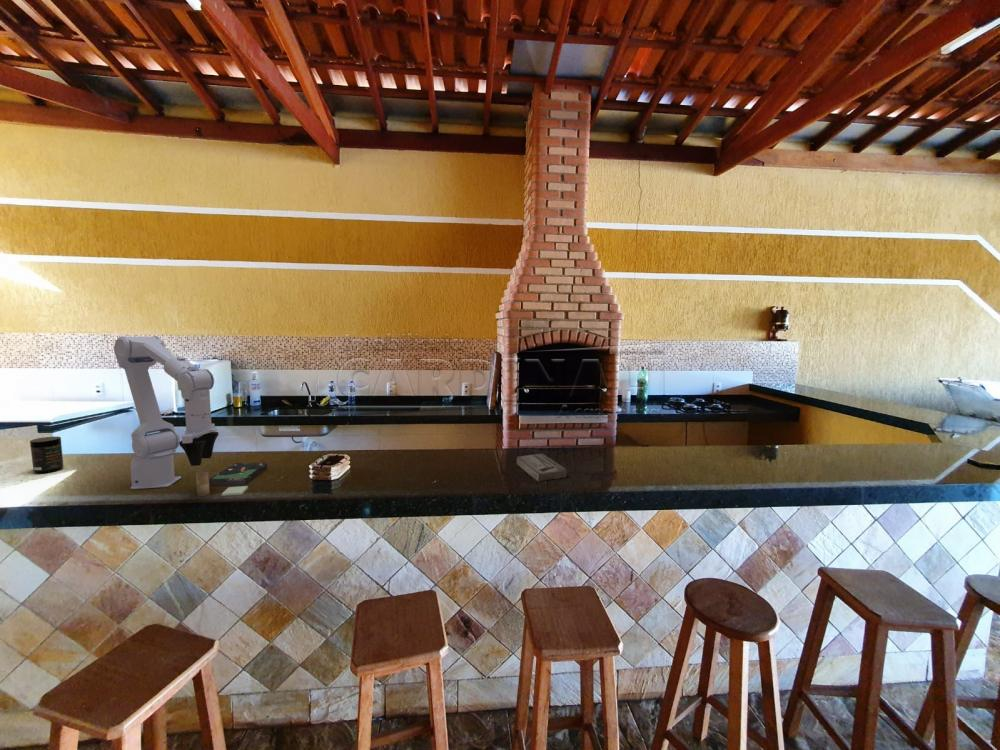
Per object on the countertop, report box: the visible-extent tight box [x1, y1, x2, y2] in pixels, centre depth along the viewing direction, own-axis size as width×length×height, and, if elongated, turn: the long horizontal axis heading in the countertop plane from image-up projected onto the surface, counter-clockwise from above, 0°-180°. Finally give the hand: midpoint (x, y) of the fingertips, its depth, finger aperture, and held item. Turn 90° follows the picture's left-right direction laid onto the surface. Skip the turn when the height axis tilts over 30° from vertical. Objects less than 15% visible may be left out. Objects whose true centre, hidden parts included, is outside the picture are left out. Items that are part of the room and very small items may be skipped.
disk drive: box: [209, 462, 268, 487], centre depth 131 cm, size 10×3×15 cm
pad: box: [221, 485, 249, 497], centre depth 119 cm, size 5×5×1 cm
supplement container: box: [29, 436, 65, 475], centre depth 133 cm, size 7×7×10 cm
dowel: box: [195, 471, 210, 497], centre depth 117 cm, size 3×3×6 cm
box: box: [516, 452, 568, 482], centre depth 141 cm, size 11×17×3 cm, turn 22°
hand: (201, 461), depth 116 cm, fingers open, 6 cm apart
